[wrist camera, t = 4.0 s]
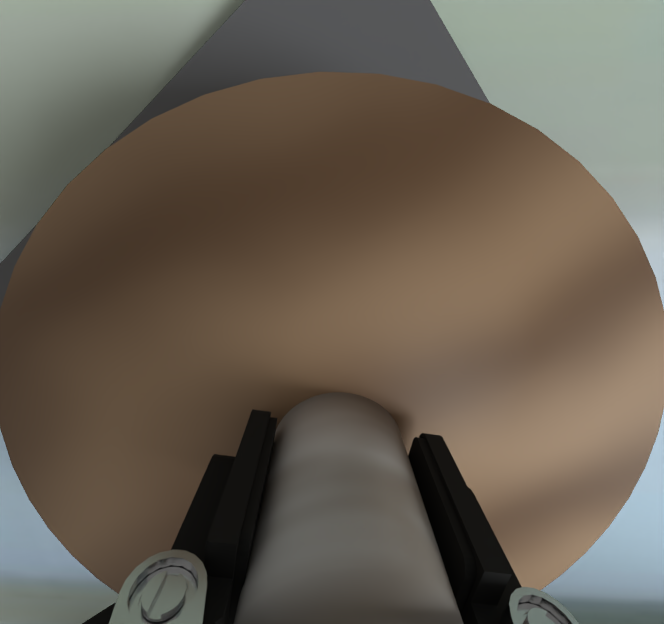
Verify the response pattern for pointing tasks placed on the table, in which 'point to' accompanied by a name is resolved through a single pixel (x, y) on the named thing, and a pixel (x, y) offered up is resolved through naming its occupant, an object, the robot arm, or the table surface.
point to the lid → (333, 341)
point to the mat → (310, 54)
